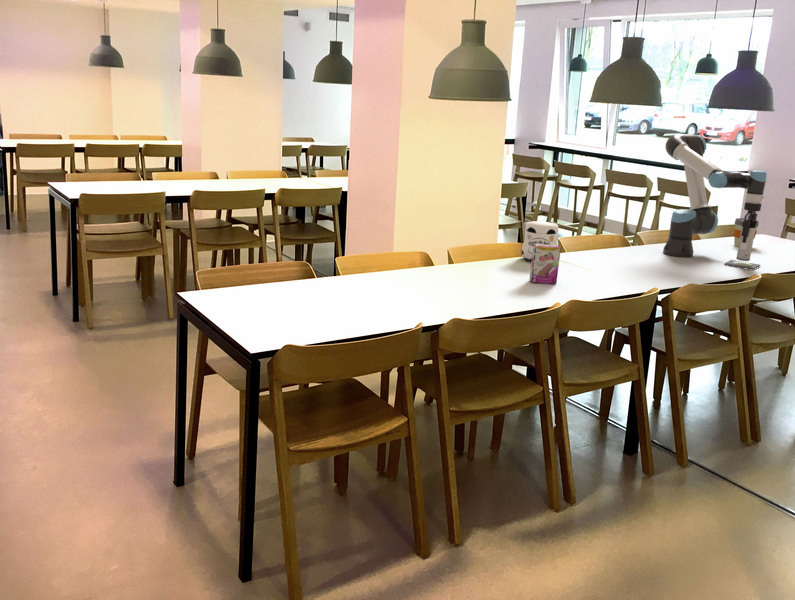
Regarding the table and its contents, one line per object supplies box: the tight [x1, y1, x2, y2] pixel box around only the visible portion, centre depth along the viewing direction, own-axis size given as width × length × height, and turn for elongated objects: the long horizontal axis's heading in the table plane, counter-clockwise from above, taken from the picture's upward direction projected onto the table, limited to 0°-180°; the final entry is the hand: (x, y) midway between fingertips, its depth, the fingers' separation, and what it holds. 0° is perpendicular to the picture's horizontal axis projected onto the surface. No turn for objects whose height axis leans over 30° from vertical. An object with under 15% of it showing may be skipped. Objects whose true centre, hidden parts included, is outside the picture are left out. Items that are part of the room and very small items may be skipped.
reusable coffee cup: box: [733, 217, 759, 247], centre depth 438 cm, size 13×13×15 cm
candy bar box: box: [528, 244, 562, 285], centre depth 328 cm, size 11×5×16 cm, turn 92°
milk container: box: [521, 220, 559, 262], centre depth 371 cm, size 17×17×18 cm
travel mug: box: [735, 220, 758, 262], centre depth 383 cm, size 6×7×20 cm
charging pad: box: [723, 259, 761, 270], centre depth 386 cm, size 14×12×1 cm
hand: (745, 248), depth 384 cm, fingers closed on travel mug, 6 cm apart
